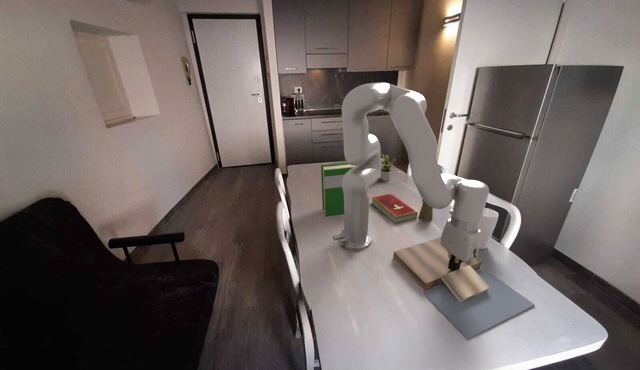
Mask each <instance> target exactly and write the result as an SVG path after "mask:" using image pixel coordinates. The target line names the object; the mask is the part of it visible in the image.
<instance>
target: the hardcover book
mask: <svg viewBox="0 0 640 370" xmlns="http://www.w3.org/2000/svg"><path fill="white" fill-rule="evenodd" d="M370 198H371V203H372V205H373V206H374V207H375V208H377V209H378V210H379V211H380V212H382V213H383V214H384V215H385V216H386V217H387V218H388V219H390V220H391V221H392V222H393V223H395V224H396V223H401V222H404V221H410V220H412V219H417V218H418V212H417V211H416V210H415V209H414V208H413V207H411V206H410V205H408V204H407V203H405V202H403V201H402V200H401V199H399V198H398V196H395V195H394V194H392V193H391V192H390V193H385V194H381V195H375V196H371V197H370Z"/></svg>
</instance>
